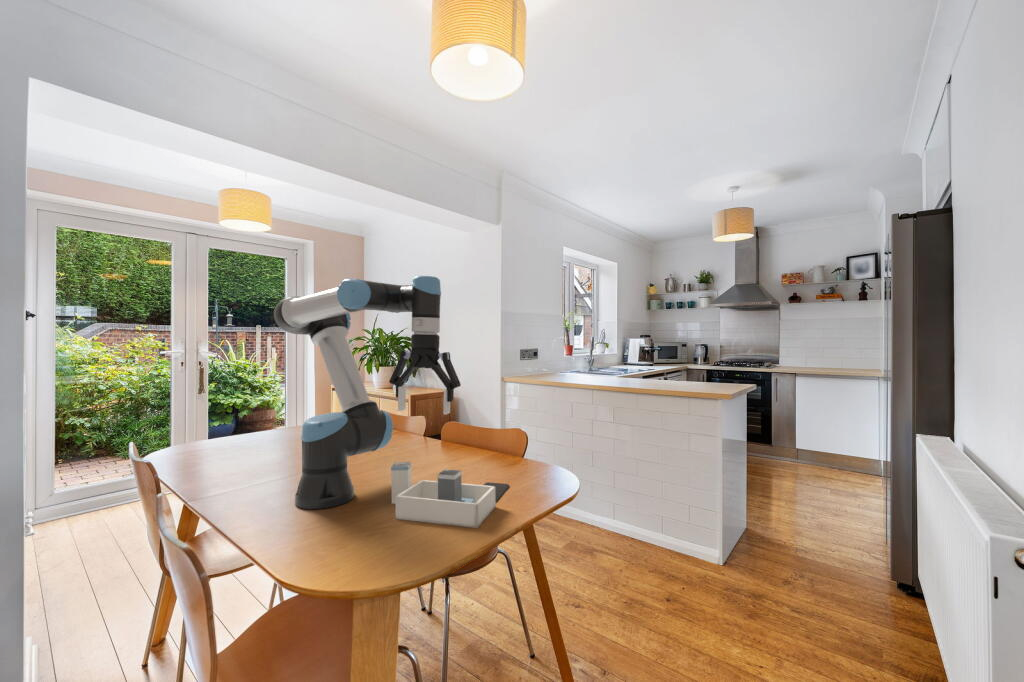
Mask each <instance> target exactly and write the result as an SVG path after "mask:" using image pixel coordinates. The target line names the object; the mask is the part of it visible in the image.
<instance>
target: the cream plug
mask: <svg viewBox="0 0 1024 682" xmlns="http://www.w3.org/2000/svg"><path fill="white" fill-rule="evenodd" d="M390 469H391V470H390V471H391V474H390V475H391V478H390V479H391V504H395V496H397V495H398V494H400V493H402V492H403V491H405V490H406V489H408V488H410V487H411V486H412V461H397V462H396V461H395V462H393V464H391V467H390Z"/></svg>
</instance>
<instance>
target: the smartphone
mask: <svg viewBox="0 0 1024 682" xmlns="http://www.w3.org/2000/svg"><path fill="white" fill-rule="evenodd" d="M483 485H486V486H495V497H496V503H497V502H499V500H500V499H501V498H502V496H503V495H504V493H506V492H507V490H508V489H509V488H510V484H509V483H500V482H485V483H484V484H483Z"/></svg>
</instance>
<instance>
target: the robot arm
mask: <svg viewBox="0 0 1024 682" xmlns="http://www.w3.org/2000/svg"><path fill="white" fill-rule="evenodd" d="M441 289H442V288H441V280H440V279H439V278H438V277H436V276H430V275H417V276H414V277H413V278H412V282H411V284H409V285H408V284H406V285H403V284H402V285H400V284H392V283H386V282H385V283H384V282H378V281H370V280H363V279H360V278H345V279H343V280H342V281H341V283H340V284H339V285H338V287H334V288H330V289H327V290H323V291H320V292H317V293H313V294H310V295H305V296H299V295H294V296H290V297H286V298H283V299H282V300H280V301H278V303H277V304H276V306H275V307H274V310H273V317H274V321H275V323H276V325H277V326H278V327H279V328H280V329H281V330H283V331H285V332H286V333H290V334H293V335H307V336H309V338H310V340H311V343H312V344H313V345H314V346H317V347H319V350H320V353H321V356H322V358H323V361H324V363H325V367H326V370H327V372H328V375H329V377H330V380H331V383H332V385H333V386H332V387H333V388H334V391H335V394H336V397H337V399H338V402H339V405H340V408H341V411H340V412H338V411H337V412H329V413H323V414H319V415H318V414H317V415H315V416H311V417H309V418H308V419H306V420H305V421H304V422H303V424H302V426H301V427H302V428H301V436H300V438H301V466H302V467H301V476H300V479H299V483H298V485H297V490H296V492H295V496H294V504H295V506H296V507H297V508H300V509H303V510H304V509H305V510H320V509H321V510H322V509H327V508H328V509H329V508H334V507H338V506H341V505H344V504H347V503H348V502H350V501H351V500H353V498H354V497H355V488H354V485H353V483H352V479H351V476H350V474H349V470H348V458H349V457H353V456H357V455H361V454H364V453H365V454H366V453H369V452H375V451H377V450H379V449H383V448H385V447H386V446H387V445H388V444H389V443H390V441H391V439H392V435H393V432H394V424H393V420H392V416H391V415H390V413H389V412H387V411H386V410H381V409H379V406H378V403H377V402H376V401H375V400H372V399H370V397H369V395H368V392H367V389H366V387H365V384H364V381H363V379H362V376H361V374H360V371H359V369H358V366H357V364H356V361H355V358H354V356H353V354H352V350H351V348H350V346H349V343H348V340H347V337H348V334H349V330H350V328H351V315H350V313H351V314H352V313H356V312H361V311H366V310H367V311H379V312H389V313H396V314H397V313H411V332H412V333H413V334H412V335H410V336H411V337H410V340H411V341H410V348H411V351H409V350H401V351H400V353H399V360H398V361H397V364H396V366H395V368H394V370H393V371H392V375H390V378H389V384H390V385H391V384H392V385H394V386H395V397H396V398H397V411H404V410H406V405H407V404H406V402H407V401H406V398H407V386H406V385H405V383H406V382H407V381H408V380H409V378H410V377H411V376H412V374H413V373H414V372H415V371H416V369H421V368H422V369H423V368H424V369H431V370H432V371H433V372H434V373H435V374H436V376H437V378H439V380H440V381H441V383H442V384H443V385H444V387H445V388H446V389H444V390H443V405H442V406H443V410H442V411H443V415H445V416H446V415H448V414H450V413H451V403H452V402H454V397H455V396H454V391H455V389H457V388H459V387H461V385H462V384H461V382H460V379H459V376H458V375H457V371H456V370H455V368H454V365H453V363H452V359H451V353H450V352H449V351H445V352H440V336H439V333H440V332H441V328H440V327H441V321H440V320H441V319H440V318H441V316H440V315H441V295H442V291H441ZM410 358H411V360H412V361H411V362H410V363H409V364H408V366H407V368H406V369H405V367H406V365H407V363H408V360H409V359H410ZM439 359H440V360H441V361H442V363H443V366H444V368H445V371H446V372H445V371H444V369H443V368H442V366H441V364H440V362H439ZM404 369H405V370H404ZM396 398H395V399H396Z"/></svg>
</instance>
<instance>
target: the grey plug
mask: <svg viewBox="0 0 1024 682" xmlns="http://www.w3.org/2000/svg"><path fill="white" fill-rule="evenodd" d="M462 473H463V472H462V470H461V469H460V470H459V469H449V468H448V469H447V468H445V469H443V470H442V471H440V472H439V473H438V474H437V481H438V499H439V500H449V501H460V502H462V488H461V483H462Z"/></svg>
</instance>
